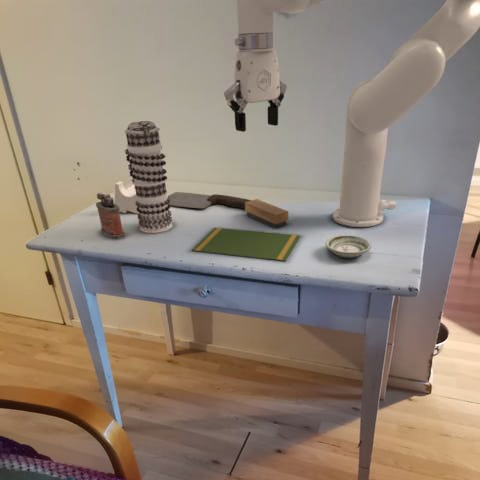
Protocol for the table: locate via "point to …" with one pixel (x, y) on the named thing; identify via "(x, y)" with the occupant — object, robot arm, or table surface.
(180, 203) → the cleaver
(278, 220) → the chalkboard eraser
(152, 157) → the decorative candle
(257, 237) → the cloth
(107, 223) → the lighter
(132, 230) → the table surface
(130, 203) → the bracket
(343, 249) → the saucer
